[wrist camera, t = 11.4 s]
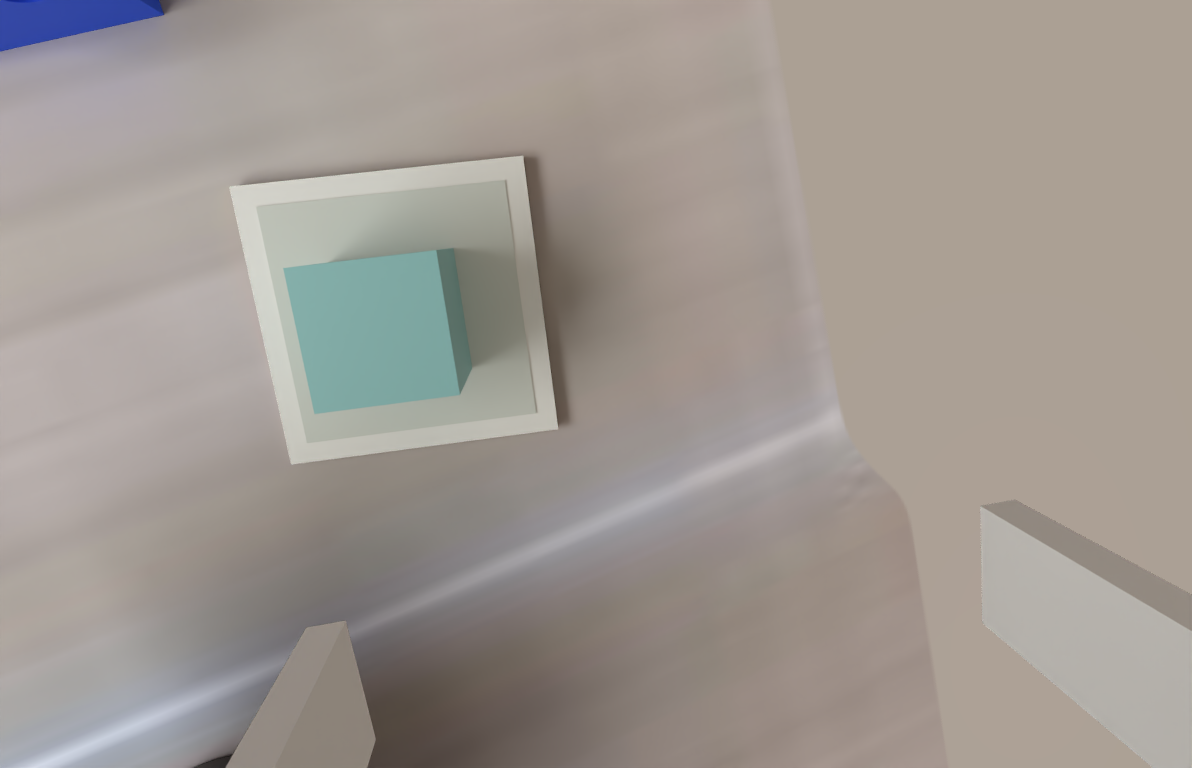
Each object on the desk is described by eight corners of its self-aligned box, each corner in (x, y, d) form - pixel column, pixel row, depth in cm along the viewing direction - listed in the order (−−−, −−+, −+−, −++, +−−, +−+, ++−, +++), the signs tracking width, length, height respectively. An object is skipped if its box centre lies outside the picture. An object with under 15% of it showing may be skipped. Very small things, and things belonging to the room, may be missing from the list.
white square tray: (295, 460, 41) (290, 465, 40) (235, 187, 37) (228, 186, 36) (557, 425, 42) (558, 429, 41) (523, 157, 38) (523, 155, 38)
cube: (352, 383, 39) (314, 414, 32) (328, 262, 38) (283, 267, 31) (472, 368, 40) (459, 395, 33) (453, 247, 38) (436, 250, 31)
